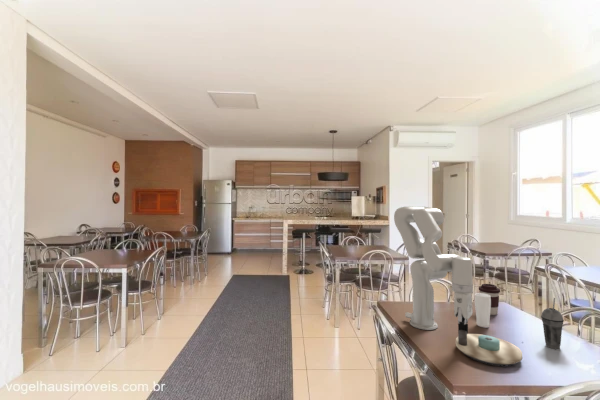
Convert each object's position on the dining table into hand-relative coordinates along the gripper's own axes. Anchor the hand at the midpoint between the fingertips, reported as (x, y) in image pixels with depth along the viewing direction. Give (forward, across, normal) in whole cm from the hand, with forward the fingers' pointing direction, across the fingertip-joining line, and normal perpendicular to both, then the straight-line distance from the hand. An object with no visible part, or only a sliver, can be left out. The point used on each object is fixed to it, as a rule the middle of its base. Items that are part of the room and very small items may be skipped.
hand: (463, 333), depth 122 cm
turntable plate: (+5, +1, -8) cm, 9 cm away
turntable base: (+6, +1, -8) cm, 10 cm away
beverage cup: (+7, +26, -27) cm, 38 cm away
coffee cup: (+6, +56, -1) cm, 56 cm away
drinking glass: (+6, +32, -1) cm, 33 cm away
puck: (+3, +1, -9) cm, 9 cm away
